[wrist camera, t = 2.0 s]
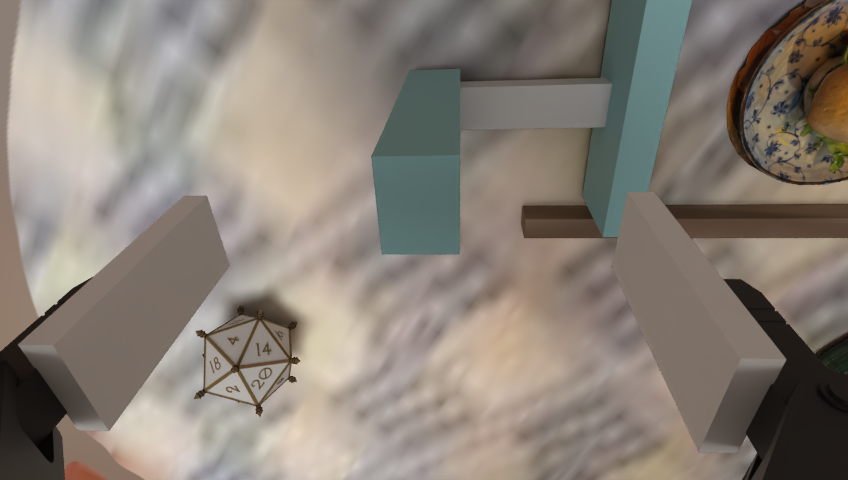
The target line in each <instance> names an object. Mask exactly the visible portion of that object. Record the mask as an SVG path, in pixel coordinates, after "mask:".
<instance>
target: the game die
mask: <svg viewBox="0 0 848 480" xmlns="http://www.w3.org/2000/svg"><path fill="white" fill-rule="evenodd" d="M237 311H238V313H239V316H237V317H235V318H234V319H232V320H230V321H228V322H227V323H225V324H223V325H222V326H220V327H218V328H217V329H215V330H213V331H212V332H210V333H208V334H206V333H205V331H202V330H200V331H196V333H197V336H200V337H201V338H202V337H204V354H203V357H204V388H203V390H201V391H199V392H198V393H196V396H195V398H194V399H198V398H200V399H201V397H202V396H204V394H205V393H209V394H213V395H216V396H220V397H224V398H227V399H231V400H235V401H238V403H239V402H242V403H246V404H250V405H253V406H256V414H258V415H259V416H261V414H262V411H263V410H262V407H261V404H262V403H263V402H264V401H265V400H266V399H267V398H268V397H269V396H270V395H271V394H272V393H274V392H275V391H276V390H277V389H278V388H279V387H280V386H281V385H282V384H283V383H284V382H285V381H287V380H289V382H291V383H292V382H297V381H296V377H293V376H290V371H291V364H292V363H293V364H297V363H298V362H300V360H299V359H298V358H297V357H296V358H295V357H294V358H292V351H291V335H290V330H291V329H294V328H296V325H297V322H295V323H293V322H292V323H291V324H290V325H289V327H287V326H284V325H281V324H278V323H275V322H272V321H269V320H267V319H264V318H262V317H263V316H264V315H263V314H264V312H263V311H262V309H261V310H259V311H257V316H251V315H246V314H243V313H244V309H243V308H242V307H241V306H239V308H238V310H237Z"/></svg>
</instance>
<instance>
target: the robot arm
mask: <svg viewBox="0 0 848 480" xmlns="http://www.w3.org/2000/svg"><path fill="white" fill-rule="evenodd" d="M229 266H230V265H229V262H228V259H227V256H226V253H225V250H224V247H223V243H222V240H221V237H220V234H219V231H218V228H217V225H216V222H215V219H214V216H213V213H212V210H211V207H210V204H209V201H208V198H207V196H183V197H182V198H181V199H180V200H179V201H178V202H177V203H176V204H175V205H173V206H172V207H171V208H170V209H169V210H168V211H167V212H166V213H164V214H163V215H162V216H161V217H160V218H159V219H158V220H157V221H156V222H154V223H153V224H152V225H151V226H150V227H149V228H148V229H147V230H145V231H144V232H143V233H142V234H141V235H140V236H139V237H138V238H137V239H135V240H134V241H133V242H132V243H131V244H130V245H129V246H128V247H126V248H125V249H124V250H123V251H122V252H121V253H120V254H119V255H118V256H116V257H115V258H114V259H113V260H112V261H111V262H110V263H109V264H107V265H106V266H105V267H104V268H103V269H102V270H101V271H100V272H99V273H97V274H96V275H95V276H94V277H92V278H90V279H88V280H86V281H85V282H83V283H81V284H79V285H78V286H76V287H74V288H73V289H71V290H70V291H69V292H68V293H67V294H66V295H65V296H63V297H62V298H61V299H60V300H59V301H58V302H57V305H53V306H52V307H51V308H50V309H49V310H47V311H46V312H45V315H44V316H41V317H39V318H38V319H37V320H36V321H35V322H34V323H33V324H31V325H30V326H29V327H28V328H27V329H26V330H25V331H24V332H22V333H21V334H20V335H19V336H18V337H17V338H15V340H13V341H12V342H11V343H10V344H9V345H8V346H6V347H5V348H4V349H3V350H2V351H1V352H0V480H65V473H64V458H63V443H62V436H61V434H60V432H59V430H58V429H57V427H56V425H57V424H58V423H59V422H60V421H61V419H62V418H63V417H64V416H65V415H66V414H67V415H68V416H69V418H70V419H71V421H72V422H73V423H74V425H75V426H76V428H77V429H78V430H90V431H109V430H110V429H111V428H112V426H113V425H114V424H115V422H116V421H117V420H118V418H119V417H120V415H121V414H122V413H123V411H124V410H125V409H126V407H127V406H128V404H129V403H130V402H131V400H132V399H133V398H134V396H135V395H136V393H137V392H138V391H139V389H140V388H141V387H142V385H143V384H144V382H145V381H146V380H147V378H148V377H149V376H150V374H151V373H152V372H153V370H154V369H155V367H156V366H157V365H158V363H159V362H160V361H161V359H162V358H163V356H164V355H165V354H166V352H167V351H168V350H169V348H170V347H171V345H172V344H173V343H174V341H175V340H176V339H177V337H178V336H179V334H180V333H181V332H182V330H183V329H184V328H185V326H186V325H187V324H188V322H189V321H190V319H191V318H192V317H193V315H194V314H195V313H196V311H197V310H198V308H199V307H200V306H201V304H202V303H203V302H204V300H205V299H206V297H207V296H208V295H209V293H210V292H211V291H212V289H213V288H214V286H215V285H216V284H217V282H218V281H219V280H220V278H221V277H222V275H223V274H224V273H225V271H226V270H227V269H228V267H229ZM612 269H613V271H614V273H615V275H616V277H617V280H618V282H619V284H620V286H621V288H622V290H623V292H624V294H625V297H626V299H627V301H628V303H629V305H630V307H631V309H632V311H633V314H634V316H635V318H636V320H637V322H638V324H639V326H640V328H641V331H642V333H643V335H644V337H645V339H646V341H647V343H648V345H649V348H650V350H651V352H652V354H653V356H654V358H655V360H656V362H657V365H658V367H659V369H660V371H661V373H662V375H663V377H664V379H665V382H666V384H667V386H668V388H669V390H670V392H671V394H672V396H673V399H674V401H675V403H676V405H677V407H678V409H679V411H680V413H681V416H682V418H683V420H684V422H685V424H686V426H687V428H688V430H689V433H690V435H691V437H692V439H693V441H694V443H695V445H696V447H697V450H698V452H717V453H737V452H738V450H739V449H740V447H741V445H742V443H743V441H744V439H745V437H746V435H747V436H748V438H749V439H750V441H751V443H752V445H753V446H754V448H755V450H756V451H757V454H756V456H755V458H754V460H753V462H752V463H751V465H750V467H749V469H748V470H747V472H746V474H745V476H744V477H743V479H742V480H848V375H844V374H841V373H838V372H835V371H829V370H828V369H827V368H826V367H825V365H824V364H823V363H822V362H821V361H820V360H819V359H818V357H817V356H816V355H815V354H814V353H813V352H812V350H811V349H810V348H809V347H808V346H807V345H806V344H805V342H804V341H803V340H802V339H801V338H800V337H799V336H798V334H797V333H796V332H795V331H794V330H793V329H792V327H791V326H790V325H789V324H786V321H785V319H784V318H783V317H782V316H781V315H780V314H779V313H778V311H775V308H774V307H773V306H772V304H771V303H770V302H769V301H768V300H767V299H766V298H765V296H764V295H763V294H762V293H761V292H759V291H758V290H756V289H755V288H753V287H752V286H750V285H749V284H747V283H746V282H744V281H742V280H741V279H723V278H722V277H721V276H720V275H719V273H718V272H717V271H716V269H715V268H714V267H713V266H712V264H711V263H710V262H709V261H708V259H707V258H706V257H705V256H704V254H703V253H702V252H701V251H700V249H699V248H698V247H697V245H696V244H695V243H694V242H693V240H692V239H691V238H690V237H689V235H688V234H687V233H686V232H685V230H684V229H683V228H682V226H681V225H680V224H679V223H678V221H677V220H676V219H675V218H674V216H673V215H672V214H671V213H670V211H669V210H668V209H667V207H666V206H665V205H664V204H663V202H662V201H661V200H660V199H659V197H658V196H657V195H656V194H655V192H627V197H626V202H625V206H624V211H623V216H622V221H621V225H620V230H619V235H618V240H617V244H616V249H615V254H614V258H613V263H612Z"/></svg>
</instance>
